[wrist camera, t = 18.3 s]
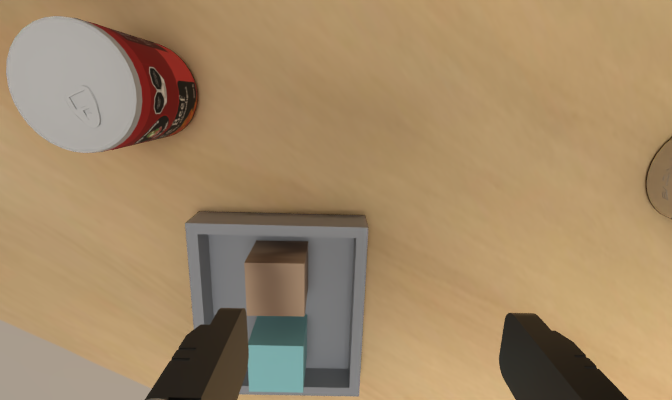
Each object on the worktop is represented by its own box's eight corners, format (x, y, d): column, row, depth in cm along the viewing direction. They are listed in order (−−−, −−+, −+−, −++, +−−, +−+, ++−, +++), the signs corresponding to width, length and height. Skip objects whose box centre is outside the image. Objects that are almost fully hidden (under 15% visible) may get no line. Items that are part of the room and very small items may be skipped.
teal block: (307, 314, 38) (303, 346, 33) (306, 356, 39) (303, 392, 34) (258, 313, 37) (247, 345, 33) (259, 355, 39) (249, 391, 34)
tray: (364, 215, 36) (368, 227, 32) (356, 371, 40) (358, 396, 37) (199, 211, 35) (185, 223, 32) (210, 368, 40) (199, 393, 37)
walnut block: (308, 241, 35) (304, 263, 31) (308, 288, 37) (304, 316, 32) (256, 240, 35) (244, 262, 31) (258, 287, 37) (246, 315, 32)
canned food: (159, 153, 34) (80, 178, 23) (92, 82, 32) (-25, 75, 22) (219, 99, 33) (165, 100, 22) (153, 23, 31) (60, -17, 20)
